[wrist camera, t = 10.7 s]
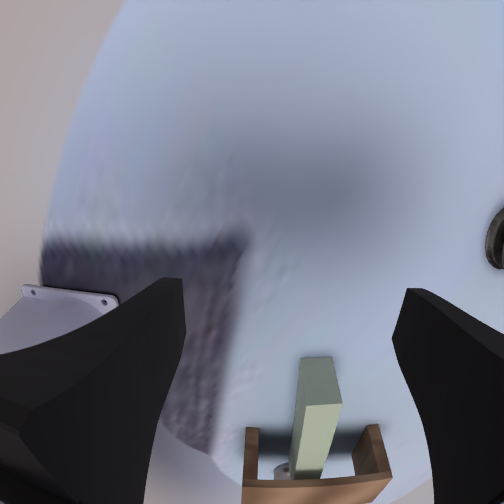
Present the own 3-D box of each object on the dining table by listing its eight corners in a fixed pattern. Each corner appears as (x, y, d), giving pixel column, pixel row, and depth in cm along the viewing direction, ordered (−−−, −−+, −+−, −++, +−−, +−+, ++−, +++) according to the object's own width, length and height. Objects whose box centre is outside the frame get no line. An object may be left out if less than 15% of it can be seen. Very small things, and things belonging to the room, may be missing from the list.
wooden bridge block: (244, 457, 29) (241, 509, 23) (245, 427, 27) (242, 486, 21) (361, 454, 29) (371, 502, 23) (378, 424, 27) (392, 477, 21)
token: (273, 476, 32) (273, 486, 30) (274, 460, 30) (275, 471, 28) (309, 475, 31) (310, 485, 30) (314, 459, 30) (315, 470, 28)
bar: (288, 459, 30) (290, 497, 25) (300, 356, 23) (306, 405, 19) (310, 458, 29) (313, 495, 25) (331, 354, 23) (342, 403, 19)
